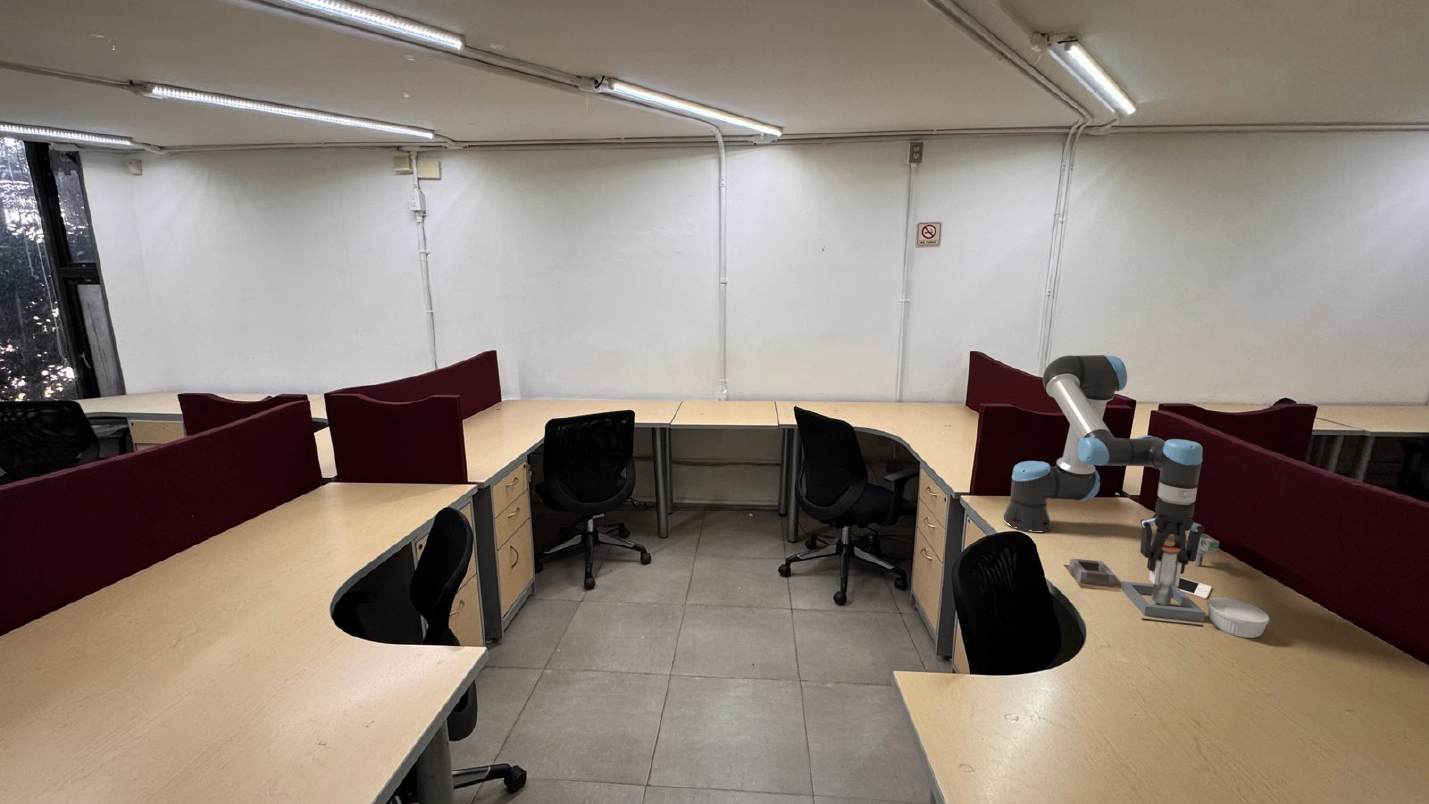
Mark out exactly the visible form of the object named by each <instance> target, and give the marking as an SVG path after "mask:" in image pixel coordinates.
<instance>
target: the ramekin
mask: <svg viewBox="0 0 1429 804" xmlns="http://www.w3.org/2000/svg"><path fill="white" fill-rule="evenodd" d="M1206 605H1207V607H1208V608H1207V609H1208V617H1209V618H1208V619H1209V621H1210V622H1211V623H1212V625H1213V626H1214V627H1216V628H1217V629H1218V630H1220V631H1222V632H1224V633H1226V634H1229V635H1231V636H1236V637H1239V638H1244V639H1245V638H1246V639H1256V638H1259V637H1260V636H1262V635H1263V633H1264V631H1265V629H1266V627H1267V625H1268V624H1269V623H1270V616H1269V615H1268V614H1267V612H1265V611H1264V610H1262V609H1260V608H1259V607H1257V606H1255V605H1252V604H1250V603H1247V602H1244V601H1241V600H1239V599H1238V600H1236V599H1233V598H1227V597H1213V598H1210V599H1208V600H1207V604H1206Z"/></svg>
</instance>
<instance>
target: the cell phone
mask: <svg viewBox="0 0 1429 804" xmlns="http://www.w3.org/2000/svg"><path fill="white" fill-rule="evenodd" d="M1173 586H1174V585H1173ZM1177 587H1178V588H1179V589H1180V590H1181V591H1182V592H1183V593H1184V594H1185V595H1186V594H1187V595H1189V596H1193V597H1194V598H1195V597H1196V598H1200V599H1203V600H1207V599H1208V597H1209V595H1210V593H1211V591H1212V589H1213V588H1212V586H1211V585H1208V584H1205V583H1200V582H1197V581H1194V580H1190V579H1188V578H1184V577H1180V579H1179V585H1178V586H1177Z"/></svg>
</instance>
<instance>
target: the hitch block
mask: <svg viewBox="0 0 1429 804" xmlns="http://www.w3.org/2000/svg"><path fill="white" fill-rule="evenodd" d="M1063 567H1064V568H1065V570H1066V571H1067V572H1068V573H1069V575H1070V576H1071V577H1072V578H1073V580H1074V581H1075V583H1077V585H1078V586H1079V588H1080V589H1089V590H1096V591H1097V590H1098V591H1106V592H1107V591H1108V592H1116V593H1122V590H1121V589H1119V588H1118V586H1117V585H1116V584H1115V581H1116V574H1115V573H1114V572H1113V570H1111V569H1110V567H1108V566H1107V565H1106V564H1105V562H1104V561H1103V560H1093V559H1092V560H1091V559H1081V558H1080V559H1079V558H1070V560H1069V564H1063Z"/></svg>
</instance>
